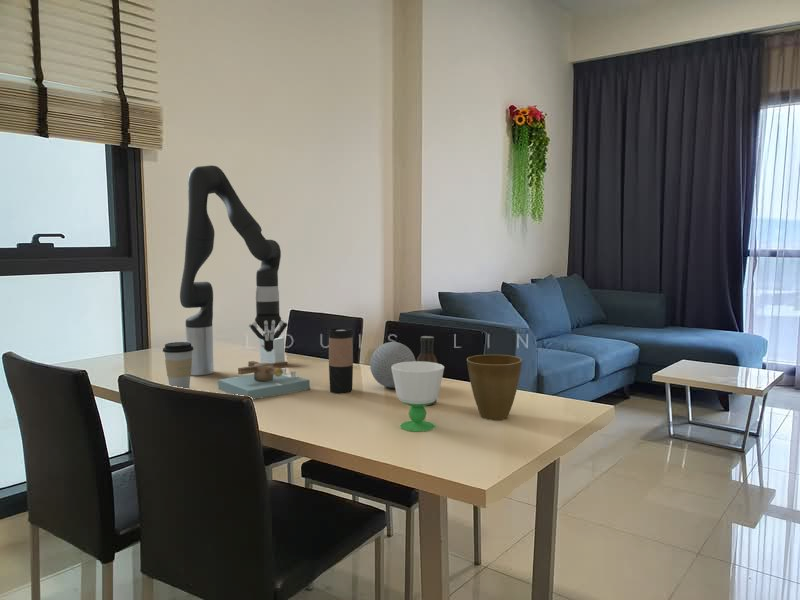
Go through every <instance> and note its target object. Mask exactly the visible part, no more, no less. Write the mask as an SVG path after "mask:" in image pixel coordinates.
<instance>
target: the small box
mask: <svg viewBox="0 0 800 600" xmlns="http://www.w3.org/2000/svg"><path fill="white" fill-rule="evenodd" d="M285 354H286V353H285V337H281V336H279V338H276V339H274V340H273V350H272V351H271V352H267V351H266V350H265V349H264V340H262V339H260V338H259V358H260V361H259V363H276V362H283V361H286V358H285Z"/></svg>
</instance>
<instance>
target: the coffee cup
mask: <svg viewBox="0 0 800 600" xmlns="http://www.w3.org/2000/svg"><path fill="white" fill-rule="evenodd" d="M192 350H194V349H193V346H191V343H189V342H186V341H173V342H168V343H165V344H164V347H162V353H164V362H165V370H166V376H167V382H168V386H169V385H171V386H177V387H183V388H189V389H190V383H191V376H192V375H191V367H192Z"/></svg>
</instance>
